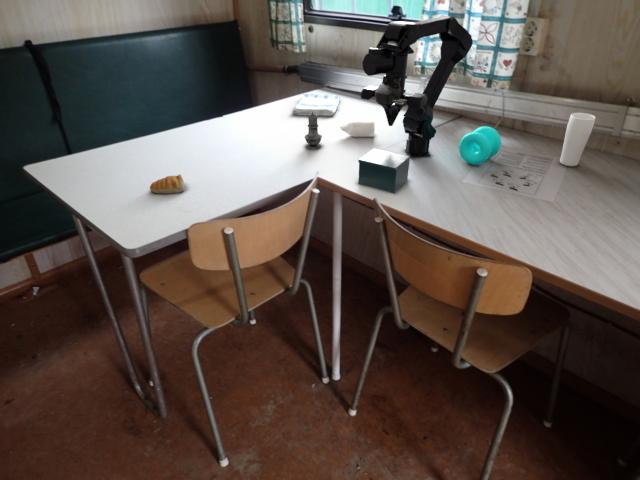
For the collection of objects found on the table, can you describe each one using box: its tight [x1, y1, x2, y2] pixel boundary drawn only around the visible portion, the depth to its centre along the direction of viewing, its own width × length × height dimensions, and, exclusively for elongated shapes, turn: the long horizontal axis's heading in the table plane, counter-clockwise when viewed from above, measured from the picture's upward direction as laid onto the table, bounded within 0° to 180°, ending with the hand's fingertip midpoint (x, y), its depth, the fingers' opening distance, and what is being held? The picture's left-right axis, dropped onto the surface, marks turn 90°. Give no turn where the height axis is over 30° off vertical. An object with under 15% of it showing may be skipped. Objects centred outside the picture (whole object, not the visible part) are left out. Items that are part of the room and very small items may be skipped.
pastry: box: [149, 173, 185, 195], centre depth 129 cm, size 9×7×4 cm
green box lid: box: [357, 148, 411, 171], centre depth 128 cm, size 9×11×1 cm
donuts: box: [458, 125, 502, 166], centre depth 142 cm, size 10×10×10 cm
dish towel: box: [291, 93, 341, 117], centre depth 193 cm, size 17×24×3 cm
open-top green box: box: [357, 158, 411, 194], centre depth 131 cm, size 9×11×7 cm
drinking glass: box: [559, 112, 597, 167], centre depth 138 cm, size 7×7×15 cm
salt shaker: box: [304, 112, 323, 150], centre depth 153 cm, size 6×6×12 cm
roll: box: [339, 119, 375, 138], centre depth 163 cm, size 6×12×6 cm, turn 89°
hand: (390, 125), depth 137 cm, fingers closed
